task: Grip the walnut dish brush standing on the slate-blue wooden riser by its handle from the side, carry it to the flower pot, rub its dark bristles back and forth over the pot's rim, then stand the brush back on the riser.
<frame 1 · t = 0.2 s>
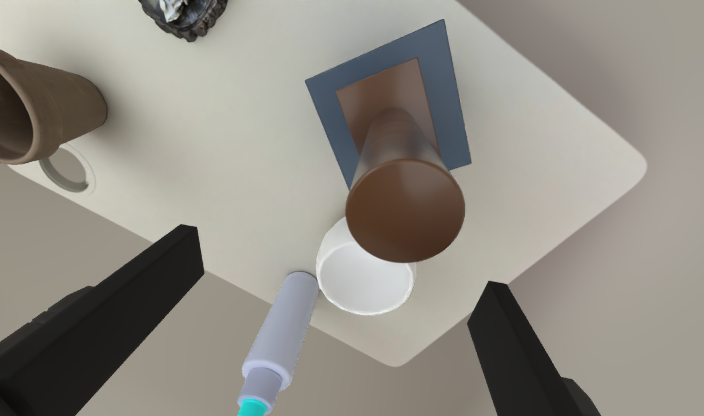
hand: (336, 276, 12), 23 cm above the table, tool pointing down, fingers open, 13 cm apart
flower pot: (85, 99, 34), on the table
riser: (388, 106, 30), on the table
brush: (391, 123, 20), point 12 cm above the table, touching riser
cup: (368, 234, 39), on the table
spray bottle: (302, 283, 45), on the table
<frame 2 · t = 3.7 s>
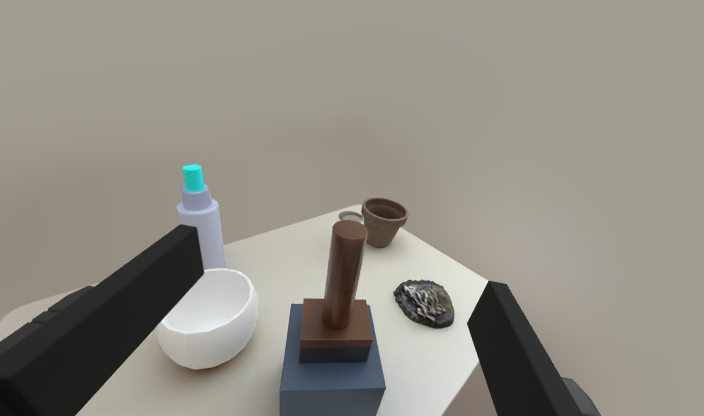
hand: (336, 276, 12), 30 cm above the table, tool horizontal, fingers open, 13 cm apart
flower pot: (378, 241, 69), on the table
grey rough lump: (424, 303, 52), on the table
riser: (323, 398, 34), on the table
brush: (332, 340, 29), point 12 cm above the table, touching riser
cup: (216, 343, 39), on the table
spray bottle: (209, 276, 50), on the table
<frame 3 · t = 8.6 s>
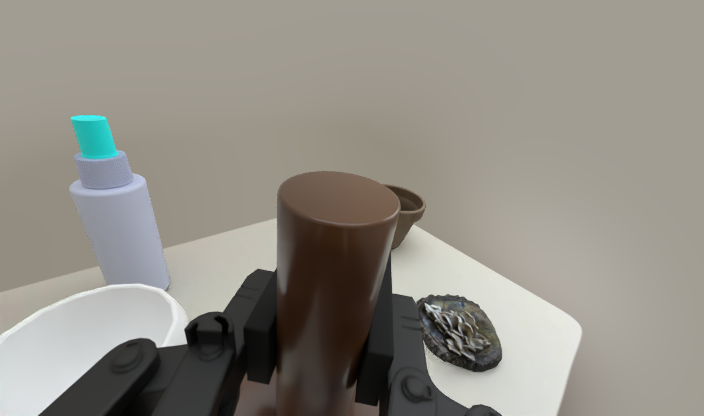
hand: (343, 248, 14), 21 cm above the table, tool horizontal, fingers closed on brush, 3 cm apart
flower pot: (384, 241, 53), on the table
grey rough lump: (453, 330, 36), on the table
cup: (123, 409, 23), on the table
spray bottle: (143, 290, 35), on the table
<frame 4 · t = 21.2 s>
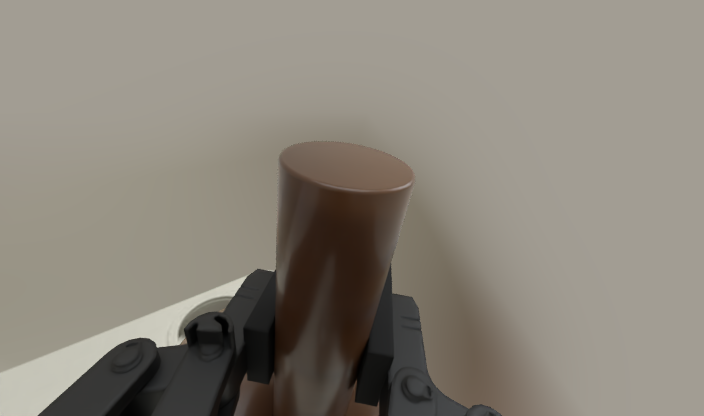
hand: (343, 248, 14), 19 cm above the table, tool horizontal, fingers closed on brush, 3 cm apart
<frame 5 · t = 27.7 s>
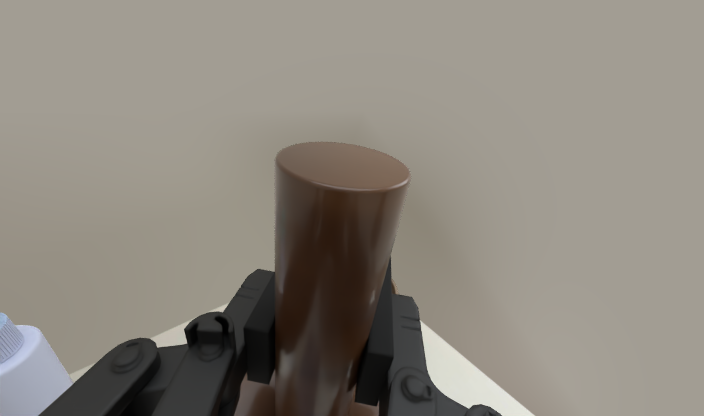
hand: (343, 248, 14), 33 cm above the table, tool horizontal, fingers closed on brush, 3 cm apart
when the fingers open (20 cm above the table, at t = 33.1 s): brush stays where it is, resting on riser.
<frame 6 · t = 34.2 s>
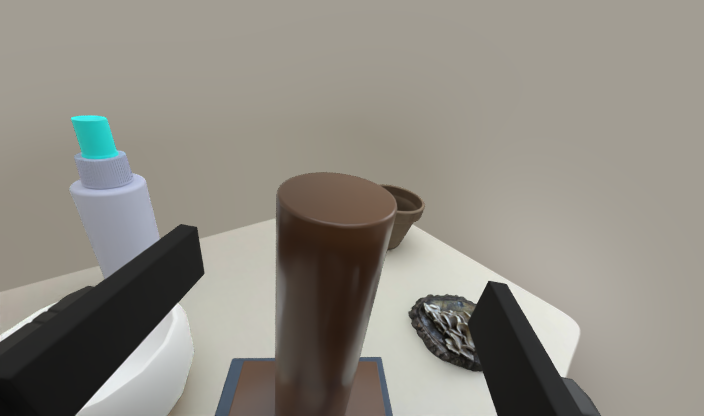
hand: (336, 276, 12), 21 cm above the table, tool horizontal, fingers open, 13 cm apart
flower pot: (384, 241, 53), on the table
grey rough lump: (452, 330, 36), on the table
cup: (123, 408, 24), on the table
spray bottle: (143, 290, 35), on the table
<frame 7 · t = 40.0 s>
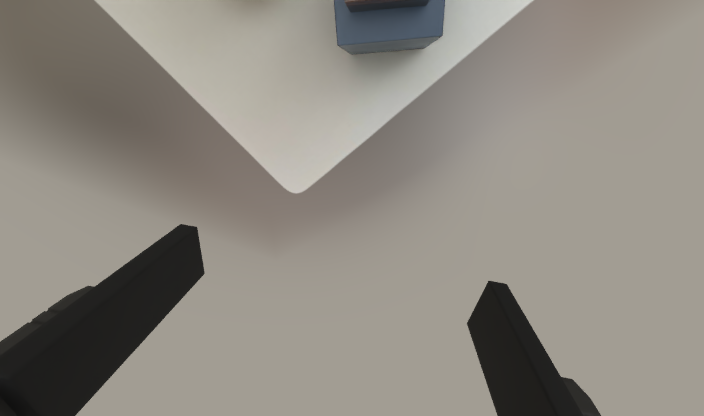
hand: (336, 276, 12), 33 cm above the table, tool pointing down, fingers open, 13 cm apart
riser: (387, 6, 33), on the table
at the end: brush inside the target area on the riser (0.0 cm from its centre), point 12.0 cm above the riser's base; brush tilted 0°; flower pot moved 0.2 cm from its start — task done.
